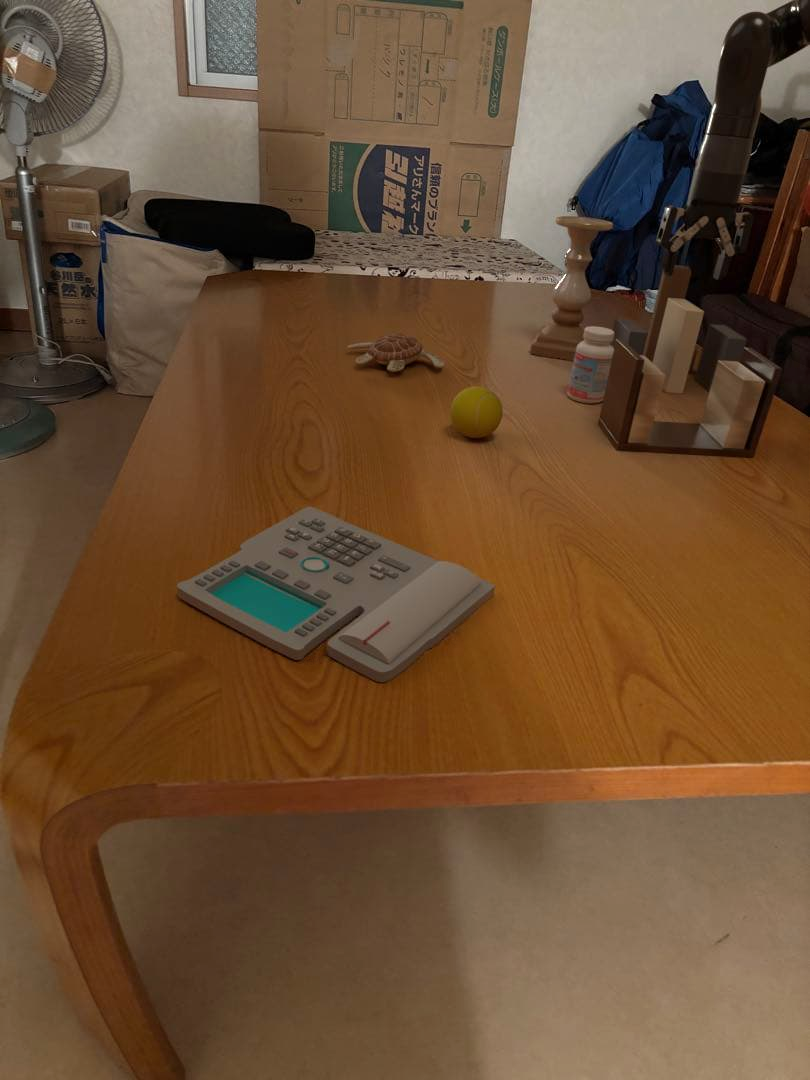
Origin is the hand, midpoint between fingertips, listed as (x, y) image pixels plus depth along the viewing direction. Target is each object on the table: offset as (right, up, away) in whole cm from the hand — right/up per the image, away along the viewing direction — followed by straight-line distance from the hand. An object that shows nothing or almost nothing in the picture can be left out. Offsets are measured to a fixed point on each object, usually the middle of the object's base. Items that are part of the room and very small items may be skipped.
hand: (692, 277), depth 128 cm
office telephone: (-54, -49, -55) cm, 91 cm away
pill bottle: (-18, -20, -1) cm, 27 cm away
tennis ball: (-38, -29, -19) cm, 51 cm away
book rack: (-8, -29, -14) cm, 33 cm away
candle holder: (-17, -7, +23) cm, 29 cm away
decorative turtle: (-49, -12, +8) cm, 52 cm away
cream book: (-1, -16, +9) cm, 19 cm away
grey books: (-1, -16, +9) cm, 19 cm away
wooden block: (+2, -11, +19) cm, 22 cm away
